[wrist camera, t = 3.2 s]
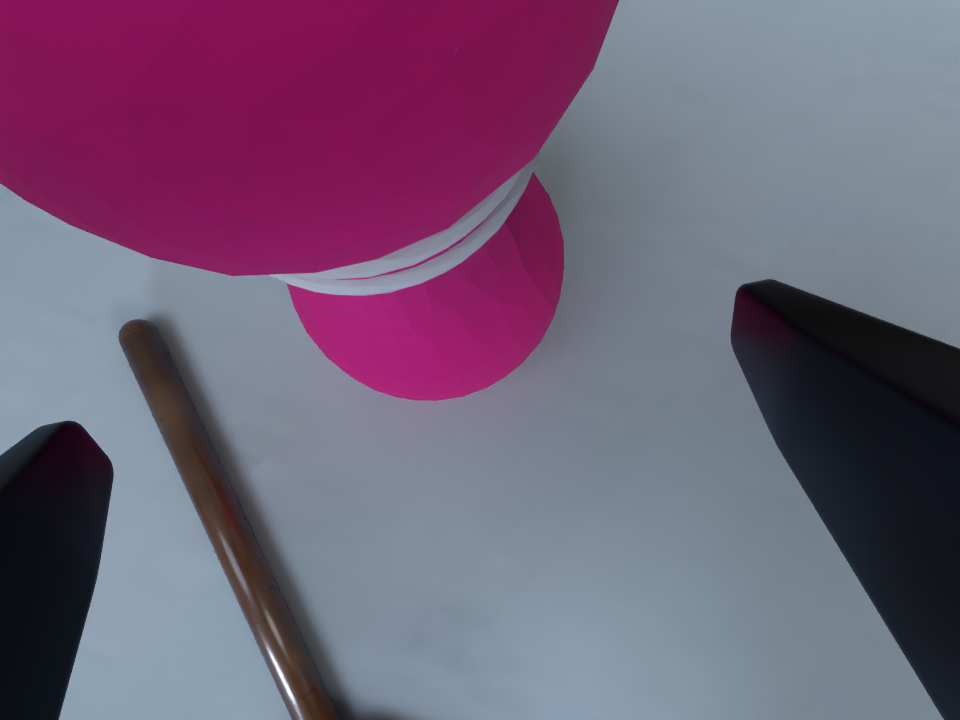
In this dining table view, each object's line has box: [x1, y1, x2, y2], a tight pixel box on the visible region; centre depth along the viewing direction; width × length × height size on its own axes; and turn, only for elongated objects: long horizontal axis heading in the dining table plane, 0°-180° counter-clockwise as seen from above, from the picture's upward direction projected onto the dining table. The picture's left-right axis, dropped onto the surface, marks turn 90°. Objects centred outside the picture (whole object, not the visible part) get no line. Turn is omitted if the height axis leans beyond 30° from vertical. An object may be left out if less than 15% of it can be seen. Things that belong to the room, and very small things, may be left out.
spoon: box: [118, 319, 340, 720], centre depth 19 cm, size 22×5×1 cm, turn 28°
